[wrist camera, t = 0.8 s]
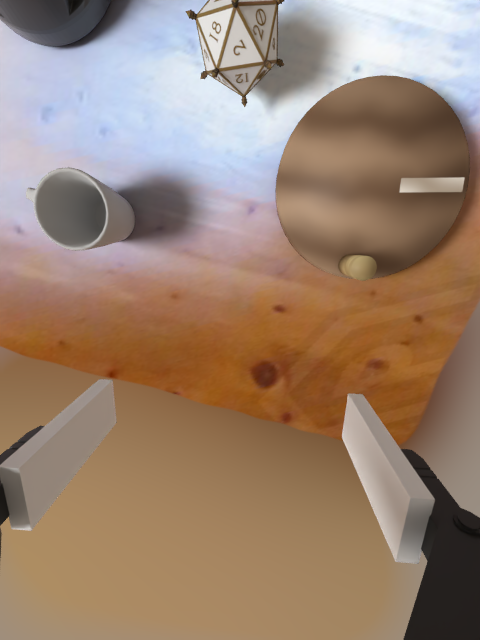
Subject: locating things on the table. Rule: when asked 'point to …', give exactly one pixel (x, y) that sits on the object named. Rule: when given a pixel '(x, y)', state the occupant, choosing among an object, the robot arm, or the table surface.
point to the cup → (80, 210)
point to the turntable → (372, 177)
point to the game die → (238, 41)
